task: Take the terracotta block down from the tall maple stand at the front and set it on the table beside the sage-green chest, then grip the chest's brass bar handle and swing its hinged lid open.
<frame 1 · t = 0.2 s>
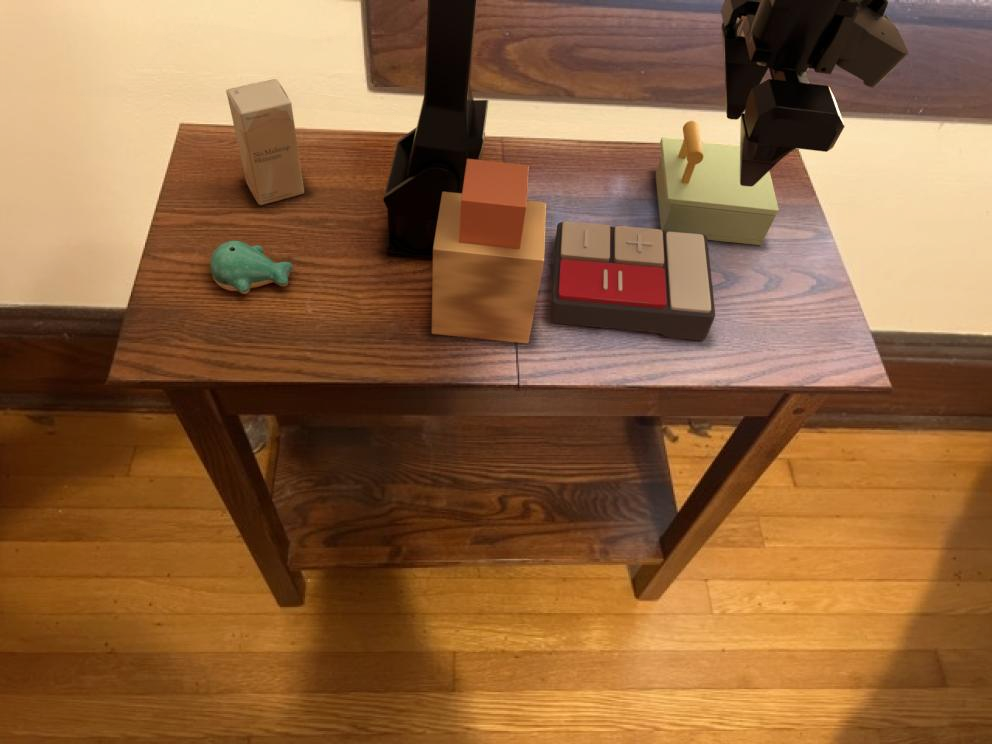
hand: (739, 150, 64), 15 cm above the table, tool pointing down, fingers open, 9 cm apart
whale figurine: (254, 280, 70), on the table
chest: (706, 208, 81), on the table
box: (276, 188, 78), on the table
stand: (482, 310, 70), on the table
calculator: (625, 291, 73), on the table
lid: (723, 159, 76), point 7 cm above the table, hinge at 0.0°
block: (491, 224, 61), point 11 cm above the table, touching stand
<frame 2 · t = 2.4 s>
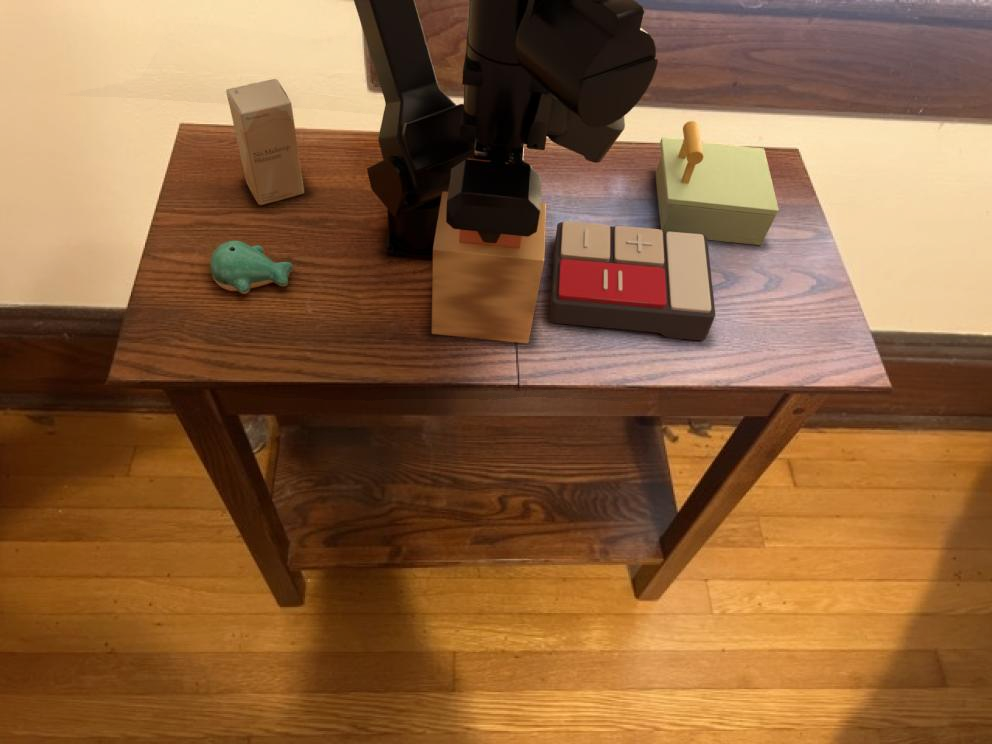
hand: (492, 219, 60), 12 cm above the table, tool pointing down, fingers closed on block, 5 cm apart
block: (491, 224, 61), point 11 cm above the table, touching gripper, stand
everything else where it was.
when the fingers open (1 cm above the table, at t = 7.4 s): block stays where it is, on the table.
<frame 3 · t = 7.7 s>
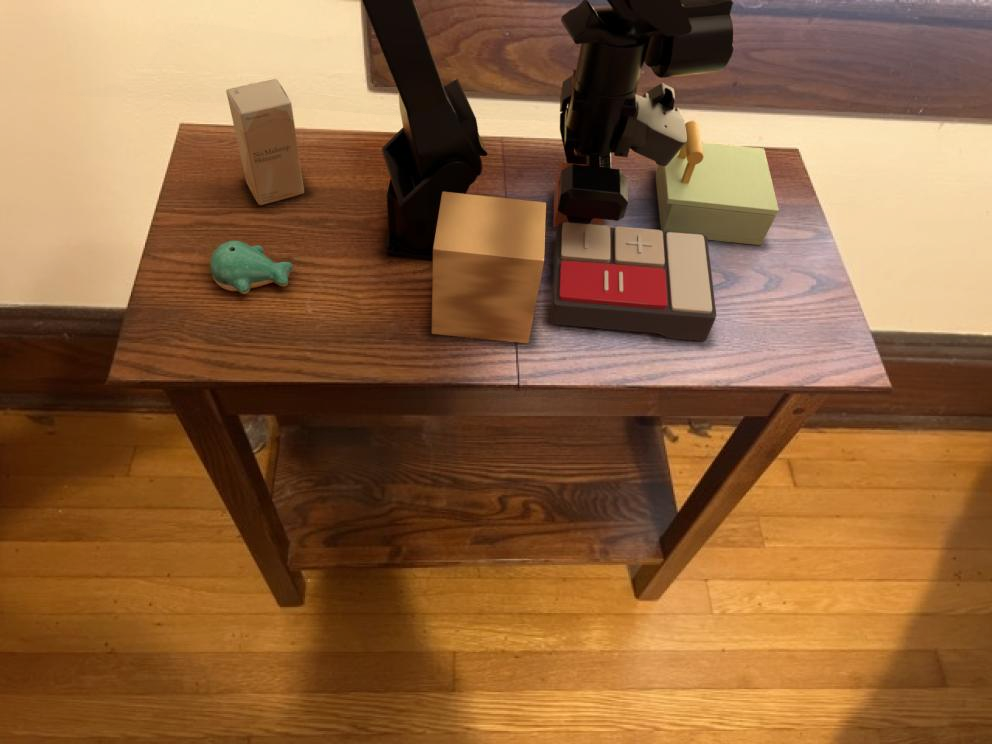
hand: (577, 209, 79), 0 cm above the table, tool pointing down, fingers open, 7 cm apart
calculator: (626, 292, 73), on the table, touching gripper
block: (576, 213, 79), on the table
everything else where it was.
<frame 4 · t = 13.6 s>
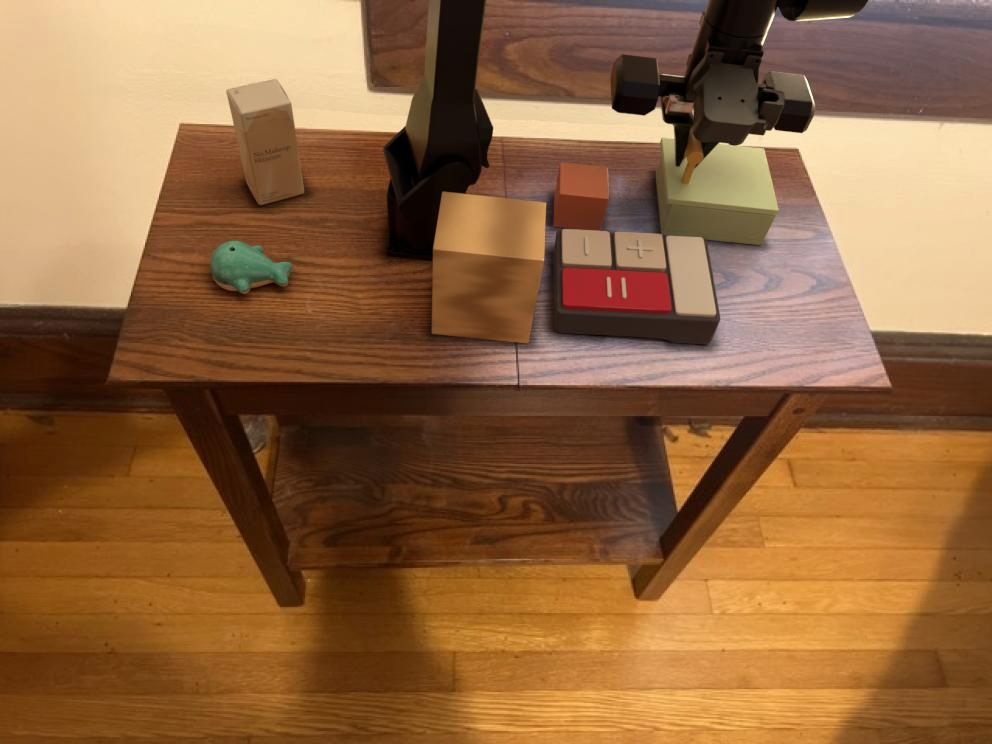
hand: (684, 165, 77), 5 cm above the table, tool pointing down, fingers closed on lid
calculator: (627, 297, 73), on the table
lid: (723, 159, 76), point 7 cm above the table, hinge at -0.1°, touching gripper
everything else where it was.
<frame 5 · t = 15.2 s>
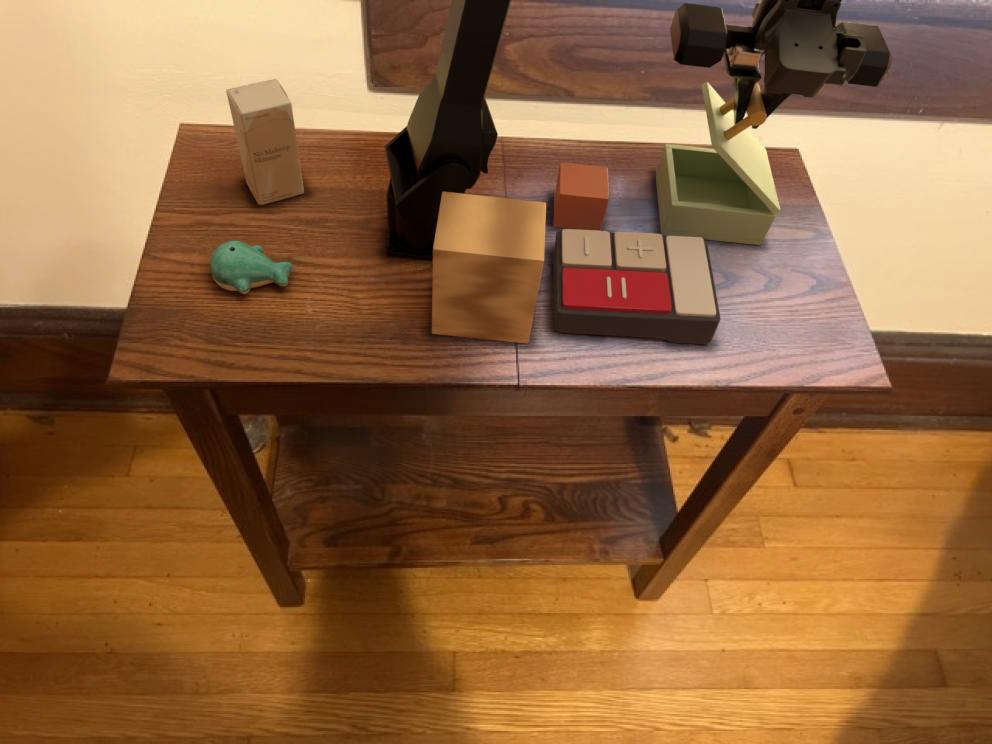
hand: (744, 125, 72), 11 cm above the table, tool pointing down, fingers closed on lid
lid: (759, 136, 73), point 10 cm above the table, hinge at 39.1°, touching gripper
everything else where it was.
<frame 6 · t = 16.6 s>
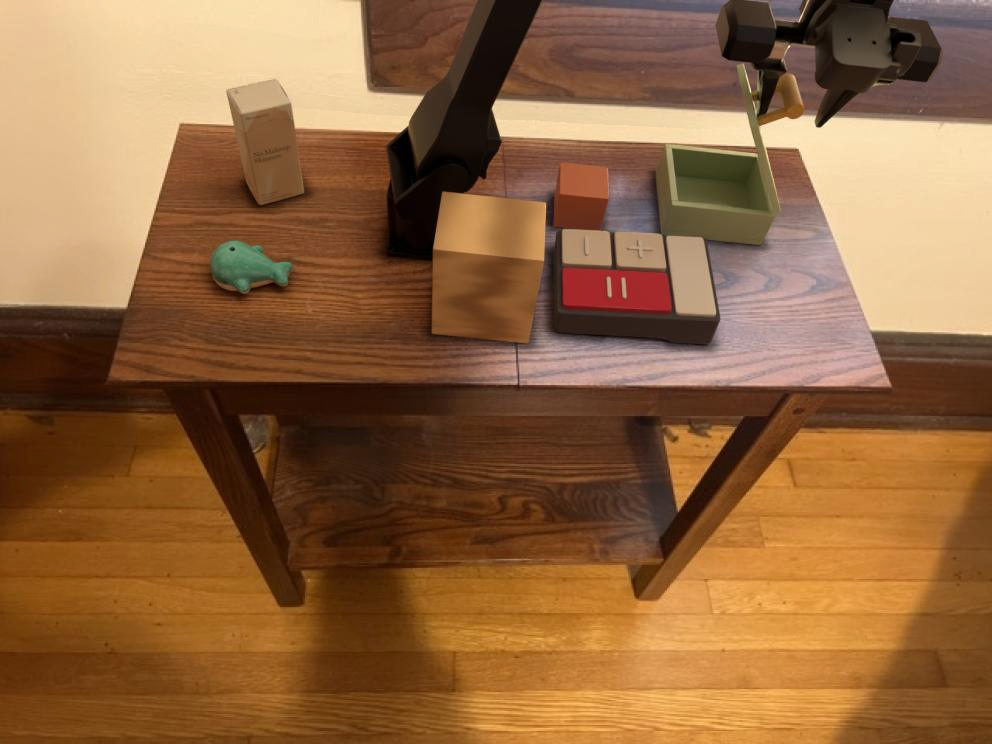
hand: (788, 122, 72), 12 cm above the table, tool pointing down, fingers open, 5 cm apart
lid: (780, 132, 73), point 11 cm above the table, hinge at 57.9°
everything else where it was.
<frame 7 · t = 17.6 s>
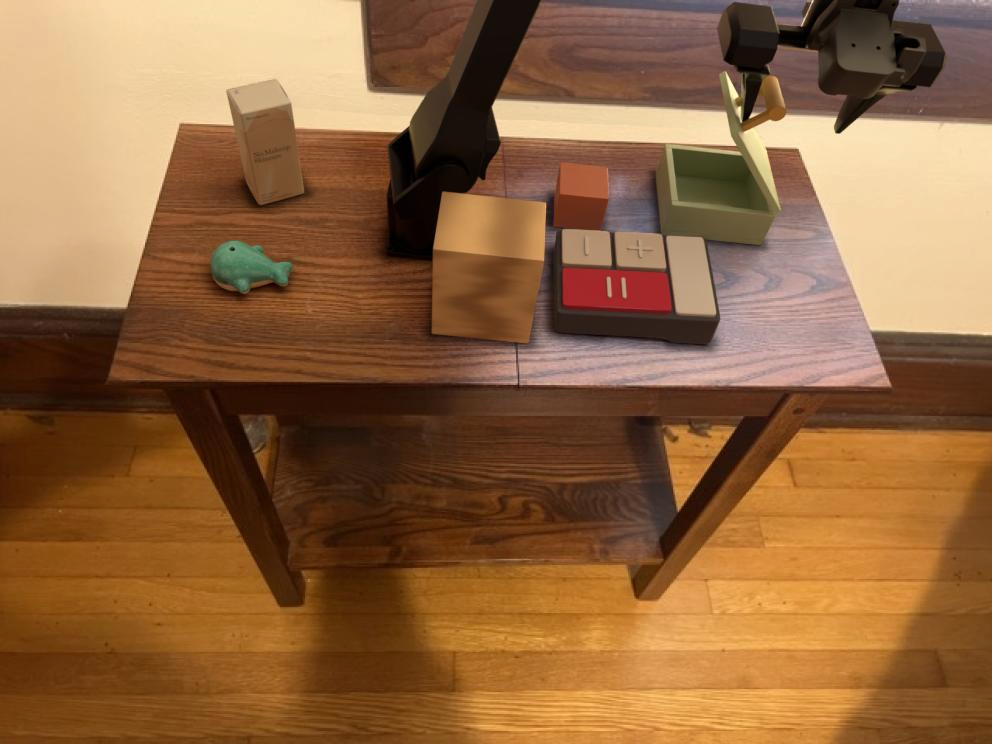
hand: (789, 126, 71), 12 cm above the table, tool pointing down, fingers open, 9 cm apart
lid: (770, 133, 73), point 10 cm above the table, hinge at 48.9°, touching gripper
everything else where it was.
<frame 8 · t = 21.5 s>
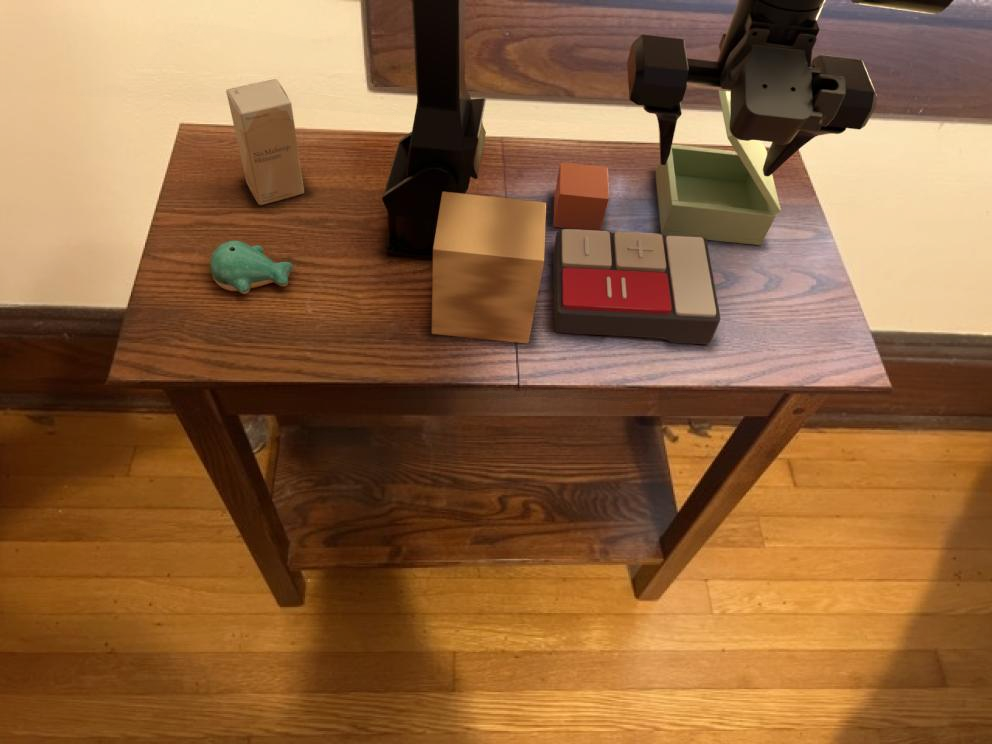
hand: (714, 167, 65), 13 cm above the table, tool pointing down, fingers open, 9 cm apart
lid: (768, 134, 73), point 10 cm above the table, hinge at 47.1°
everything else where it was.
at the end: block inside the target area (0.0 cm from its centre), on the table; lid at +47° (first picture: +0°) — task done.
